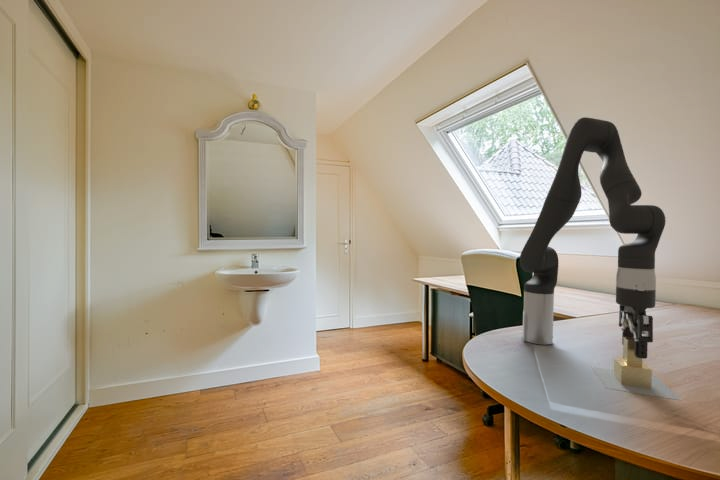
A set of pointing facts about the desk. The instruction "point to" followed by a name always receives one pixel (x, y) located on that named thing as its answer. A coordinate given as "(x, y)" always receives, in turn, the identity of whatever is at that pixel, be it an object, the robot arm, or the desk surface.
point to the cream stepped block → (632, 367)
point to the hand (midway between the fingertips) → (634, 351)
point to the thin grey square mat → (656, 386)
